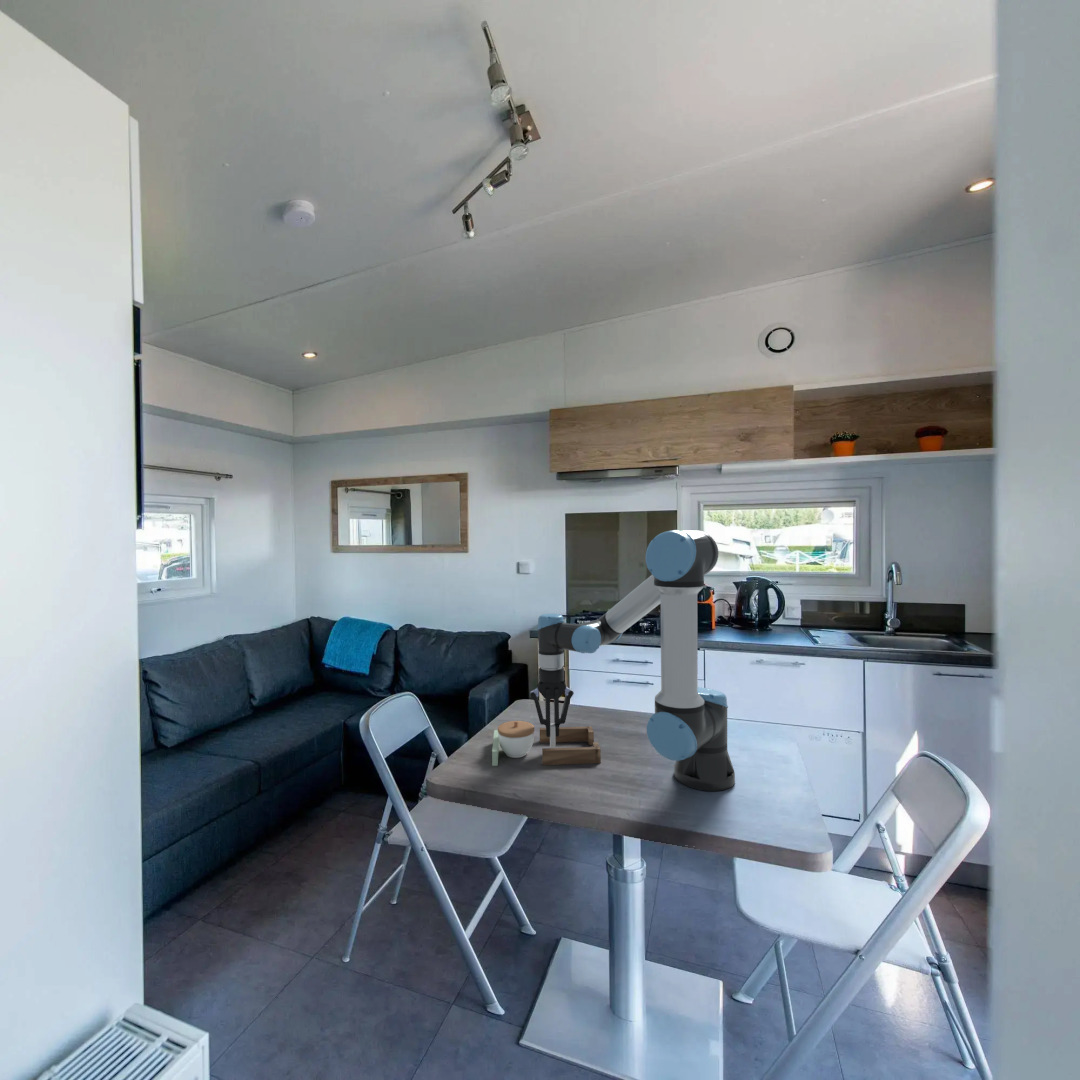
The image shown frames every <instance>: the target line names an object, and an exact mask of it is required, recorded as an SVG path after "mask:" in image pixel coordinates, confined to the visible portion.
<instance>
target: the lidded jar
mask: <svg viewBox="0 0 1080 1080" xmlns="http://www.w3.org/2000/svg"><path fill="white" fill-rule="evenodd" d="M497 730H498V739H499V748H500V749H501V750H502V751H503V753H505V754H506V756H507V757H509V758H514V759H515V758H516V759H519V758H523V757H525V756H526V755H527V754H528V752H530V750H531V749H532V747H533V744H534V740H535V739H534V738H535V726H534V724H532V723H531V722H529V721H524V720H511V721H510V720H509V721H506V722H503V723H501V724H500V725H498V727H497Z"/></svg>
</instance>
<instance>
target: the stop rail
mask: <svg viewBox="0 0 1080 1080" xmlns="http://www.w3.org/2000/svg"><path fill="white" fill-rule="evenodd" d="M491 749H492V750H491V757H492V758H491V761H492V762H491V763H492V764H491V766H492V767H497V766H498V765H499V755H500V754H499V752H500V744H499V739H498V729H494V730H493V740H492V748H491Z"/></svg>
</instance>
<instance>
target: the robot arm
mask: <svg viewBox="0 0 1080 1080" xmlns="http://www.w3.org/2000/svg"><path fill="white" fill-rule="evenodd" d="M718 560H719V547H718V544H717V543H716V541H715V539H714V538H713V537H712V536H711V535H710V534H708V533H707V532H704V531H702V530H698V529H697V530H696V529H691V530H690V529H689V530H685V529H684V530H680V529H673V530H666V531H664V532H661V533H659V534H657V535H656V536H655V537H654V538H652V540H651V541H650V542H649V544H648V545H647V549H646V552H645V564H646V568H647V569H648V571H649V572H650V573H651V575H650V576H649V577H647V578H646V579H645V580H644V581H642V582H641V583H640V584H639V585H638V586H636V587H635V588H634V589H633V590H632V591H630V592H629V593H628V594H627V595H625V596H624V597H623V598H622V599H621V600H619V602H617V603H616V604H615V605H613V606H612V607H611V608H610V609H608V610H607V611H606V613H604V614H603V615H601V616H600V617H599V618H598V619H595V620H594V619H593V620H590V621H586V622H581V623H568V622H565V620H564V616H563V615H562V614H559V613H544V614H541V615H539V617H538V619H537V641H538V654H537V655H538V667H539V668H538V683H537V687H536V688H535V689H532V690H531V689H530V694H529V695H530V697H531V698H532V700H533V701H534V705H535V709H536V712H537V716H538V719H539V724H540V725H541V726H542V725H544V726H545V728H546V736H547V737H550V742H549V748H557V747H556V745H557V744H556V743H557V742H556V737H557V736H559V727H560V726H561V725H562V724H565V723H566V720H567V715H568V711H569V706H570V702H571V699H572V697H573V696H574V694H575V693H574V691H573V689H572V688H569V687H568V686H567V684H566V682H565V668H564V666H565V651H571V652H577V653H581V654H593V653H596V652H597V650H598V649H599V648H600V647H601V646H604V645H608V644H613V643H614V642H617V641H618V640H620V639H621V638H622V635H623V633H624V632H625V631H626V630H628V629H629V628H630V627H632V626H633V625H635V624H636V623H637V622H639V621H640V620H641V619H642V618H644V617H645V616H646V615H647V614H649V613H650V612H651V611H653V610H654V609H656V607H658V606H659V605H660V691H659V692H658V693H657V694H655V696H654V713H653V714H652V715H650V718H649V719H648V721H647V723H646V735H647V739H648V741H649V744H650V745H651V746H652V747H653V748H654V750H655V751H656V753H657V754H659V755H660V756H661V757H663V758H664V759H666V760H670V761H674V764H673V765H674V768H673V770H674V771H673V772H674V775H673V776H674V778H675V779H676V780H677V781H678V782H679V783H681V784H683V785H684V786H685V787H689V788H692V789H695V790H699V791H706V792H720V791H725V790H729V789H730V788H732V787H733V786H735V783H736V774H735V773H736V772H735V769H734V766H733V762H732V761H731V760H732V759H731V758H730V753H729V751H728V708H729V706H728V701H727V699H728V698H727V696H726V694H725V693H723V692H722V691H719V690H717V689H714V688H707V687H702V686H701V687H700V686H698V684H699V681H698V680H699V679H698V677H699V676H698V674H699V673H698V672H699V671H698V669H699V667H698V665H699V662H698V654H699V653H698V649H699V648H698V595H699V593H700V592H701V591H702V590H703V588H705V576H706V575H707V574H708V573H710V572H711V571H712V570H713V569H714V568H715V566H716V565H717V563H718ZM539 693H540V694H541V696H542V697H543V699H544V700H545V701H544V702H545V703H544V707H545V708H544V709H545V718H544V716H543V711H542V709H541V704H540V700H539V695H540V694H539ZM563 693H564V695H565V696H564V700H563V701H564V702H563V705H562V710H561V714H560V711H559V710H560V705H559V704H560V698H561V697H562V695H563ZM551 700H553V713H554V714H553V717H554V719H553V721H554V723H551Z"/></svg>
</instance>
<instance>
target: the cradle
mask: <svg viewBox="0 0 1080 1080" xmlns="http://www.w3.org/2000/svg"><path fill="white" fill-rule="evenodd" d="M594 733H595V732H594V730H593V727H592V726H589V725H588V726H562V727H560V726H559V736H557V737H556V743H571V742H573V743H574V742H578V743H579V742H587V744H588V746H583V747H582V746H581V747H580V746H579V747H578V746H577V747H556V748H550V747H549V748H548V747H546V748H543V747H542V751H541V753H542V754H541V757H542V758H541V759H542V761H541V762H542V763H541V764H542V766H550V765H551V766H552V765H553V766H554V765H555V766H556V765H557V766H558V765H559V766H560V765H578V764H579V765H584V764H587V765H589V764H601V761H602V760H601V759H602V756H601V755H602V754H601V751H602V750H601V747H600V744H599V742H595V740H594V739H595V737H594V736H595V734H594ZM539 743H540V744H541V743H545V744H546V743H550V737H547V736H546V727H539Z"/></svg>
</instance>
